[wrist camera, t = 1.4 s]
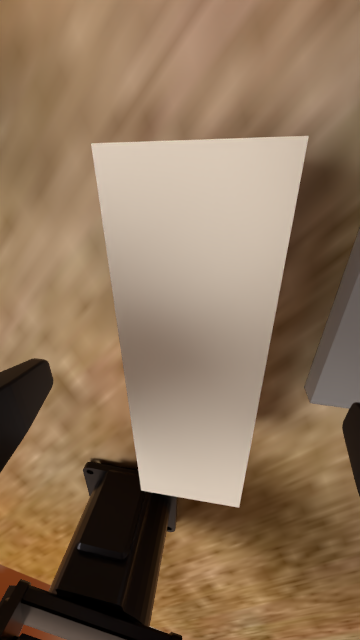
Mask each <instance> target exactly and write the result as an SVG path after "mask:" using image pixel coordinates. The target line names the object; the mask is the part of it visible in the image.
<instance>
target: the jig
mask: <svg viewBox="0 0 360 640" xmlns="http://www.w3.org/2000/svg"><path fill="white" fill-rule="evenodd" d="M304 388H305V390H306V393H307V396H308V399H309V401H310V403H313V404H320V405H327V406H334V407H342V408H349V409H350V407H351V405H352V404H353V403H354V402H360V228H359V231H358V234H357V237H356V240H355V243H354V245H353V248H352V251H351V254H350V257H349V260H348V263H347V266H346V268H345V271H344V274H343V277H342V280H341V283H340V286H339V289H338V291H337V294H336V297H335V300H334V303H333V306H332V309H331V312H330V315H329V317H328V320H327V323H326V326H325V329H324V332H323V335H322V338H321V340H320V343H319V346H318V349H317V352H316V355H315V358H314V361H313V363H312V366H311V369H310V372H309V375H308V378H307V381H306V384H305V386H304Z"/></svg>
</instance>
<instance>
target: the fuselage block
mask: <svg viewBox="0 0 360 640" xmlns="http://www.w3.org/2000/svg"><path fill="white" fill-rule="evenodd" d="M308 137H309V136H288V137H259V138H231V139H203V140H175V141H147V142H119V143H91V145H92V152H93V159H94V166H95V173H96V180H97V187H98V194H99V201H100V208H101V215H102V222H103V229H104V235H105V242H106V249H107V256H108V263H109V270H110V277H111V284H112V291H113V298H114V305H115V312H116V319H117V326H118V333H119V339H120V346H121V353H122V360H123V367H124V374H125V381H126V388H127V395H128V402H129V409H130V416H131V423H132V430H133V437H134V444H135V450H136V457H137V464H138V471H139V478H140V485H141V491H147V492H152V493H158V494H164V495H170V496H175V497H181V498H187V499H192V500H198V501H204V502H210V503H215V504H221V505H227V506H233V507H238V508H239V506H240V500H241V495H242V490H243V484H244V479H245V474H246V468H247V463H248V457H249V452H250V447H251V441H252V436H253V431H254V425H255V420H256V415H257V409H258V404H259V399H260V393H261V388H262V383H263V377H264V372H265V367H266V361H267V356H268V351H269V345H270V340H271V335H272V329H273V324H274V319H275V313H276V308H277V303H278V297H279V292H280V287H281V281H282V276H283V271H284V265H285V260H286V255H287V249H288V244H289V239H290V233H291V228H292V223H293V217H294V212H295V207H296V201H297V196H298V191H299V185H300V180H301V175H302V169H303V164H304V159H305V153H306V148H307V143H308Z"/></svg>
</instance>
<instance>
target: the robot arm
mask: <svg viewBox="0 0 360 640" xmlns="http://www.w3.org/2000/svg"><path fill="white" fill-rule="evenodd" d="M52 385H53V377H52V373H51V370H50V366H49V363H48V361H47V360H44V359H36V358H34V359H31V360H28V361H26V362H23V363H21V364H19V365H16V366H14V367H12V368H9V369H7V370H4V371H2V372H0V472H1V471H2V469H3V468H4V466H5V465H6V463H7V462H8V460H9V459H10V457H11V456H12V454H13V453H14V451H15V450H16V448H17V447H18V445H19V444H20V442H21V441H22V439H23V438H24V436H25V435H26V433H27V432H28V430H29V428H30V427H31V425H32V423H33V421H34V419H35V418H36V416H37V414H38V412H39V410H40V408H41V406H42V405H43V403H44V401H45V399H46V397H47V395H48V393H49V392H50V390H51V388H52ZM342 428H343V434H344V438H345V442H346V446H347V451H348V455H349V459H350V463H351V467H352V471H353V475H354V479H355V483H356V486H357V490H358V493H359V496H360V402H354V403H353V404H352V405H351V407H350V409H349V411H348V413H347V415H346V417H345V419H344V421H343V426H342ZM83 472H84V476H85V480H86V484H87V488H88V492H89V496H90V498H89V500H88V503H87V505H86V507H85V510H84V512H83V514H82V516H81V519H80V521H79V523H78V525H77V528H76V530H75V532H74V535H73V537H72V539H71V541H70V544H69V546H68V548H67V550H66V553H65V555H64V557H63V560H62V562H61V564H60V566H59V569H58V571H57V573H56V575H55V578H54V580H53V582H52V585H51V587H50V589H49V591H45V590H42V589H39V588H36V587H33V586H31V583H30V582H27V581H25V580H22V579H21V580H20V581H19V582H18V584H17V586H9V587H8V589H7V591H6V593H5V595H4V596H3V598H2V600H1V602H0V640H40V639H37V638H34V637H32V636H29V635H26V634H23V633H22V634H21V635H20V636H19V634H20V631H21V629H22V627H23V625H27V626H30V627H33V628H36V629H38V630H41V631H44V632H47V633H50V634H53V635H56V636H58V637H61V638H64V639H67V640H182V636H181V635H179V634H176V633H173V632H171V633H170V634H168V633H165V632H162V631H159V630H156V629H153V628H151V627H149V626H150V621H151V615H152V609H153V604H154V598H155V593H156V587H157V581H158V576H159V570H160V565H161V559H162V553H163V548H164V542H165V537H166V531H168V532H174V531H175V528H176V514H177V497H175V496H170V495H164V494H158V493H152V492H147V491H141V485H140V478H139V471H136V470H131V469H126V468H120V467H115V466H110V465H105V464H99V463H94V462H87V463H86V465H85V467H84V469H83Z"/></svg>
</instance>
